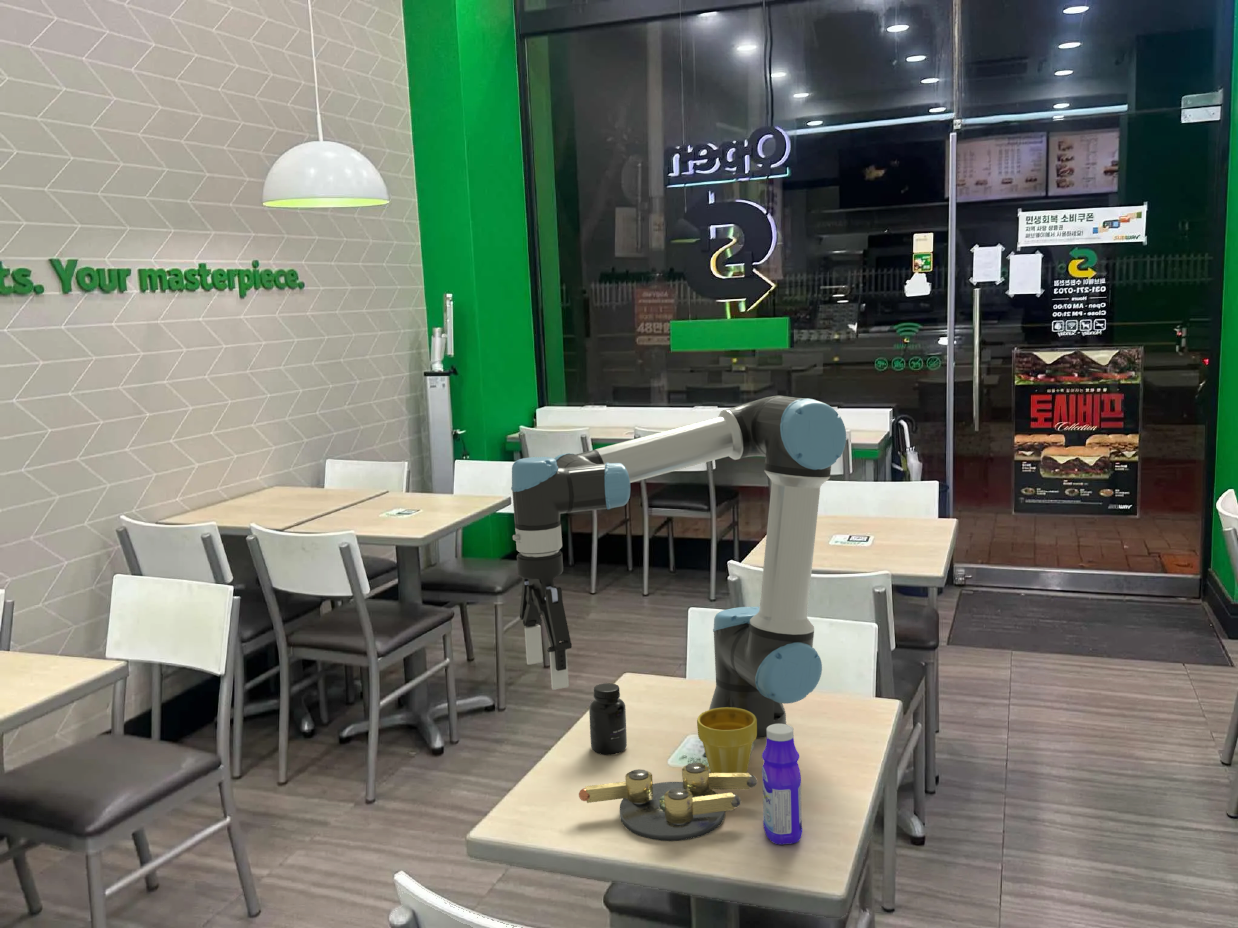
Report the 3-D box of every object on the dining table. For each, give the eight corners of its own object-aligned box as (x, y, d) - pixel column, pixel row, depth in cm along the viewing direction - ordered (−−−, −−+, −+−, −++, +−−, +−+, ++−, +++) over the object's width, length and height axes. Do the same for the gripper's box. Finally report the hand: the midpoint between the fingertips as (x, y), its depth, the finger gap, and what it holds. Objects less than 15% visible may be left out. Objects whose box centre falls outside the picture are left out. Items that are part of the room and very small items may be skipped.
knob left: (682, 795, 168) (681, 772, 168) (683, 783, 173) (682, 760, 172) (757, 795, 167) (757, 772, 167) (756, 783, 172) (756, 760, 171)
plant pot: (723, 789, 175) (721, 734, 174) (687, 768, 184) (685, 716, 182) (770, 772, 180) (768, 719, 179) (733, 753, 189) (731, 702, 188)
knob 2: (668, 825, 159) (667, 800, 159) (662, 811, 163) (661, 788, 163) (744, 815, 161) (744, 791, 160) (737, 802, 165) (736, 778, 165)
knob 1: (650, 788, 171) (649, 766, 171) (655, 801, 167) (654, 777, 167) (577, 797, 170) (576, 774, 169) (581, 810, 165) (579, 786, 165)
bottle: (759, 825, 162) (756, 720, 160) (794, 822, 163) (792, 717, 160) (769, 849, 155) (766, 739, 153) (806, 845, 156) (804, 736, 153)
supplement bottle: (623, 756, 190) (620, 694, 188) (587, 755, 191) (584, 693, 189) (630, 741, 196) (627, 681, 195) (595, 740, 198) (592, 680, 196)
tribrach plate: (710, 784, 177) (709, 769, 177) (737, 832, 160) (736, 816, 160) (612, 796, 174) (611, 781, 174) (629, 846, 158) (629, 830, 157)
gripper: (496, 540, 180) (505, 656, 183) (540, 570, 157) (549, 703, 160) (537, 534, 183) (545, 649, 186) (587, 563, 160) (594, 694, 163)
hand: (547, 674), depth 173 cm, fingers open, 13 cm apart
